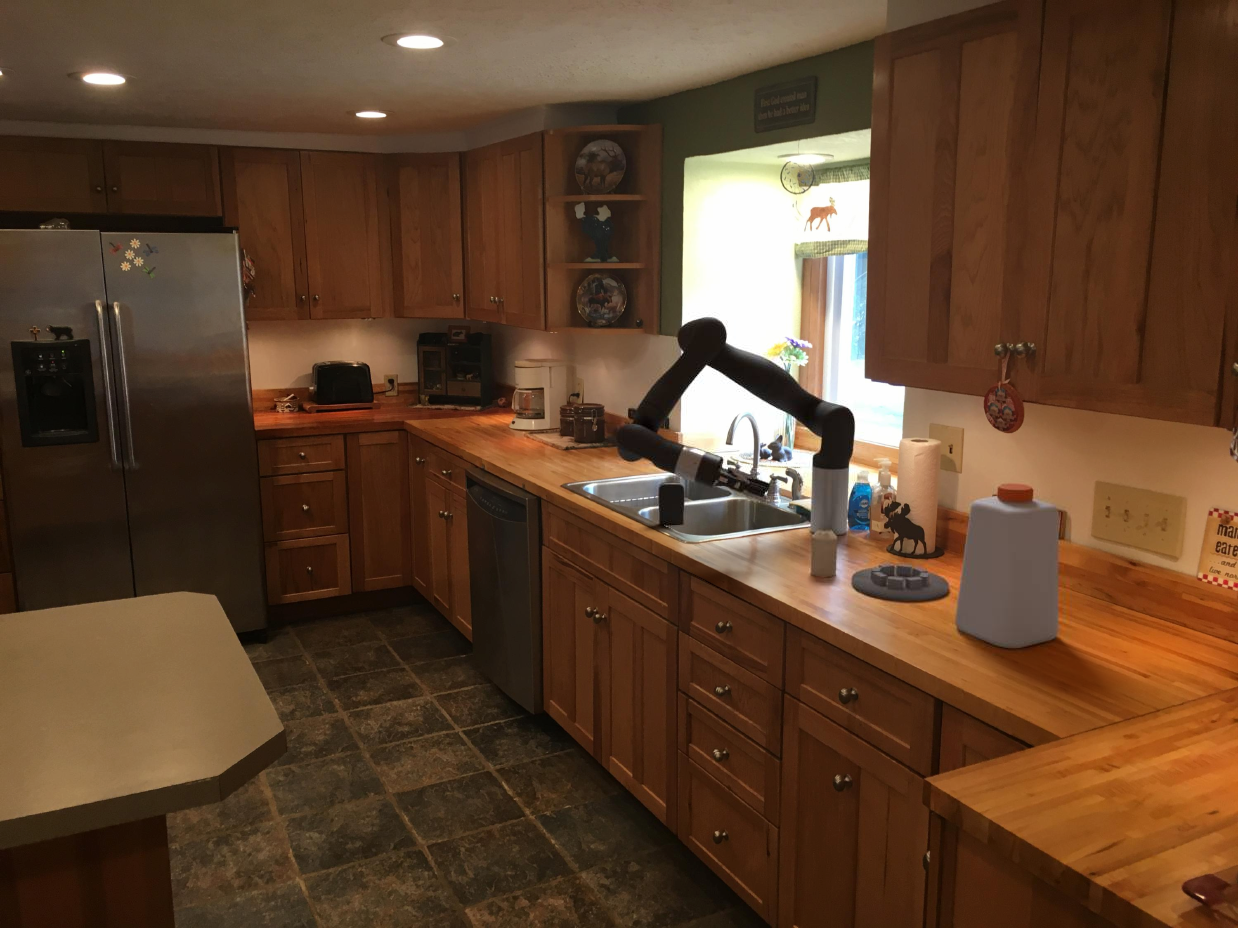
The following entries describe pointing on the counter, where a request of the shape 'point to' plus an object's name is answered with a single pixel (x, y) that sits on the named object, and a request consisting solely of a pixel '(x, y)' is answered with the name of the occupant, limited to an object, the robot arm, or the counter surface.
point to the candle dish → (898, 594)
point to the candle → (824, 553)
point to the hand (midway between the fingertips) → (767, 490)
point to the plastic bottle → (1010, 570)
